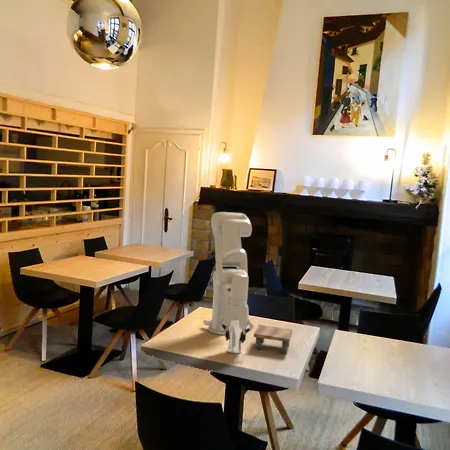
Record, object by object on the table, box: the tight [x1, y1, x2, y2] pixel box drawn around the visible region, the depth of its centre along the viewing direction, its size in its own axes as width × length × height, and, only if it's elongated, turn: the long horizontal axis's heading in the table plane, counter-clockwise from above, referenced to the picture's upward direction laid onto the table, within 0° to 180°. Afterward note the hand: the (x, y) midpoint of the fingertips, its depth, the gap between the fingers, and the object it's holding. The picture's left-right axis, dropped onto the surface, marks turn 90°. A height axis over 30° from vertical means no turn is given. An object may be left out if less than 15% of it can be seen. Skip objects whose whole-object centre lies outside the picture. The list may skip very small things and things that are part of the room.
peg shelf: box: [253, 324, 293, 355], centre depth 203 cm, size 16×14×8 cm
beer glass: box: [227, 319, 243, 354], centre depth 194 cm, size 7×7×15 cm
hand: (235, 340), depth 194 cm, fingers closed on beer glass, 6 cm apart
